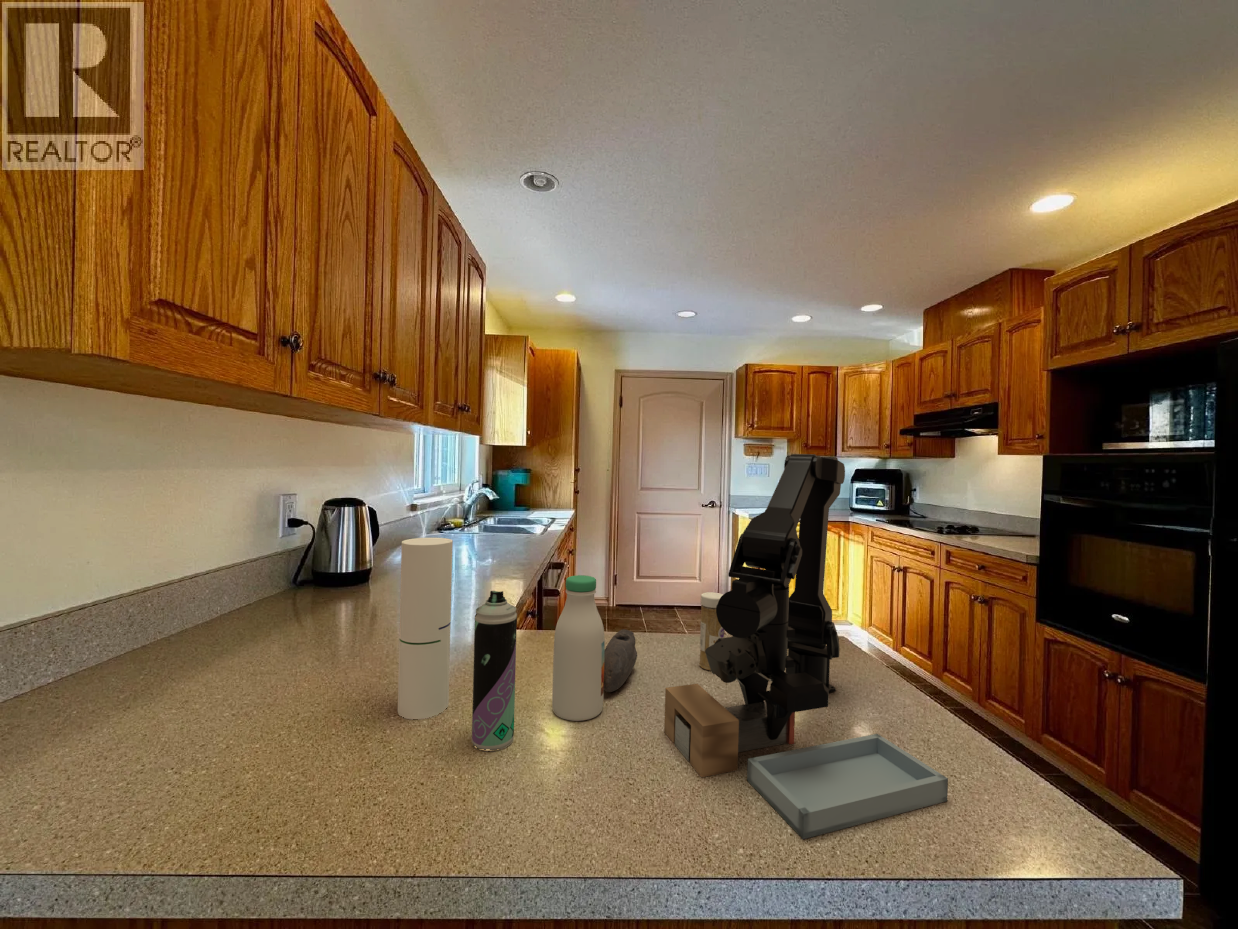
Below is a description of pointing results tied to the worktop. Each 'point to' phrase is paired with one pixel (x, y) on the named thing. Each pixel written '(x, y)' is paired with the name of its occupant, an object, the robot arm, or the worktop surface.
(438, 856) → the worktop surface
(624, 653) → the perforated stone tool
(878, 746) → the tray
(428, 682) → the cylindrical container
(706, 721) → the block
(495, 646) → the spray can
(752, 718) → the red capped grey bar
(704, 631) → the spice jar
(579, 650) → the milk bottle
